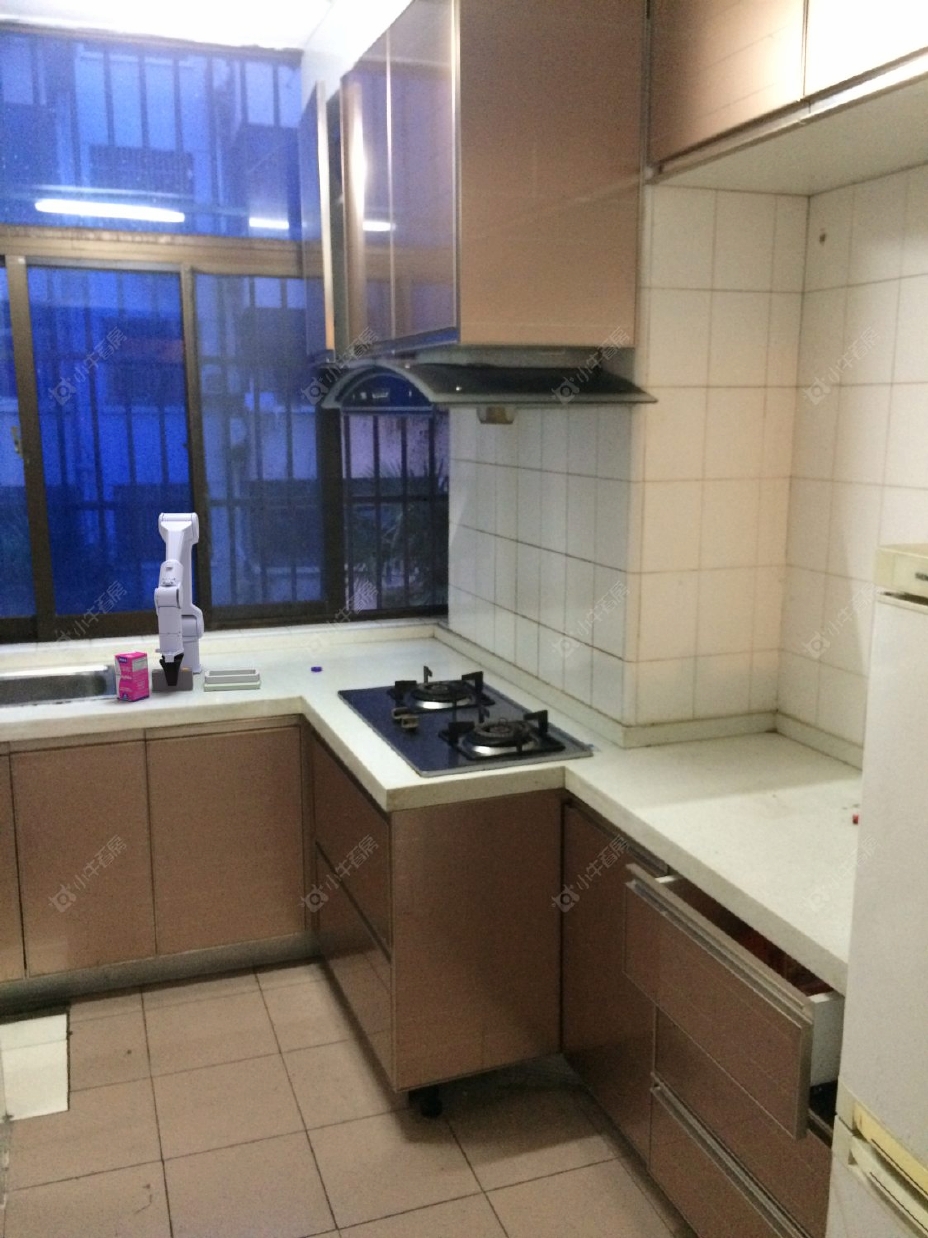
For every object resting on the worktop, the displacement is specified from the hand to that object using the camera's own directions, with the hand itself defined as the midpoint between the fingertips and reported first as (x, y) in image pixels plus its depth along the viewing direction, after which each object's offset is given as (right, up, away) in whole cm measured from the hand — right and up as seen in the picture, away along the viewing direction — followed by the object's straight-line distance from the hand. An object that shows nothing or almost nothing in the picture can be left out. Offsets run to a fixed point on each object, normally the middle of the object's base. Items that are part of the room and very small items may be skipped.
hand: (173, 683), depth 266 cm
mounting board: (+14, 0, +6) cm, 15 cm away
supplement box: (-7, -3, -9) cm, 12 cm away
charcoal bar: (0, -1, 0) cm, 1 cm away
